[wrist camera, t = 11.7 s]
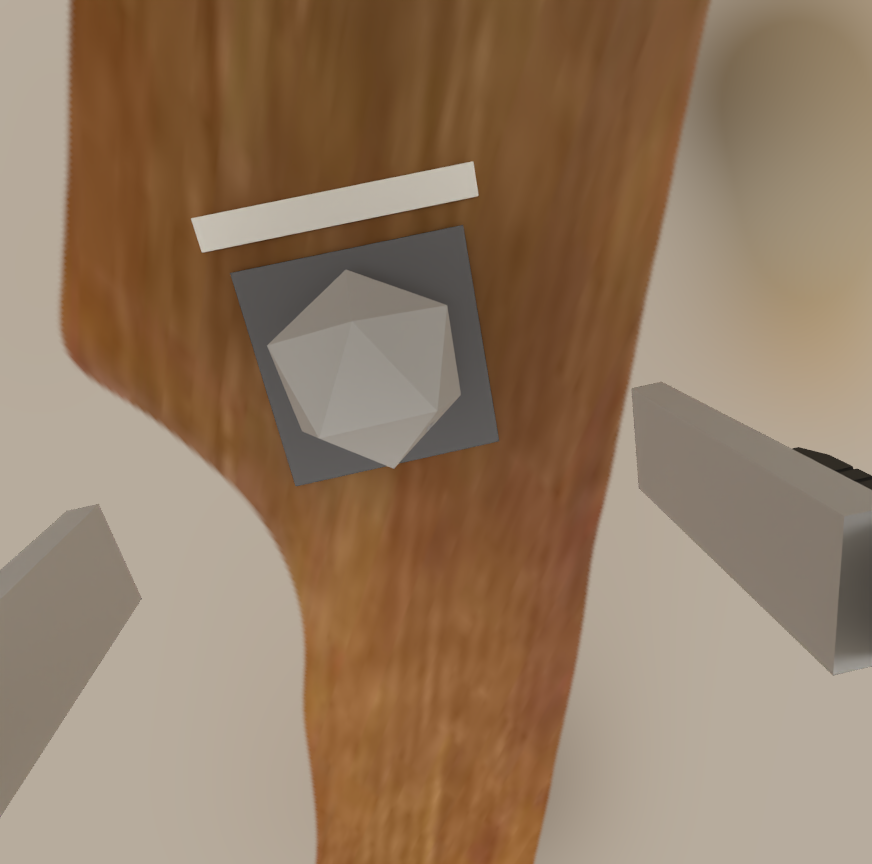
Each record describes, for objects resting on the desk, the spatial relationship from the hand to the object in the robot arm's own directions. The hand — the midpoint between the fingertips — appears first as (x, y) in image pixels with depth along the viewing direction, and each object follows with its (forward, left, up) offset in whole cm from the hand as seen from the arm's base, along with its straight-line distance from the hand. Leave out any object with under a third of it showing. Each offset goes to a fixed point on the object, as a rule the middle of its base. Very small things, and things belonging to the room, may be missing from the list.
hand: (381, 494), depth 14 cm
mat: (0, -1, -18) cm, 18 cm away
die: (0, 0, -18) cm, 18 cm away
